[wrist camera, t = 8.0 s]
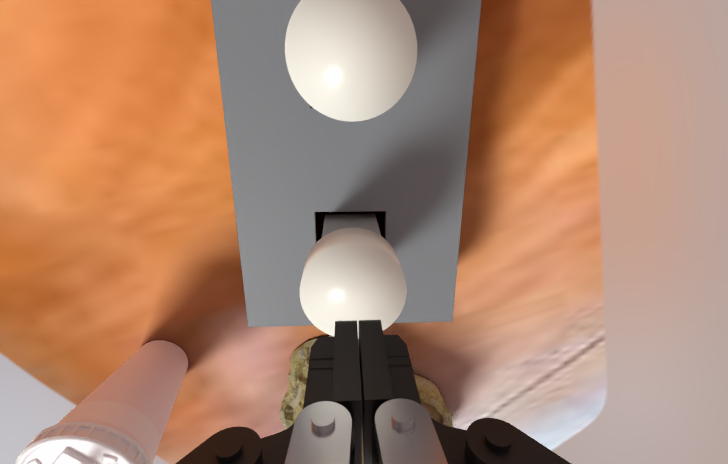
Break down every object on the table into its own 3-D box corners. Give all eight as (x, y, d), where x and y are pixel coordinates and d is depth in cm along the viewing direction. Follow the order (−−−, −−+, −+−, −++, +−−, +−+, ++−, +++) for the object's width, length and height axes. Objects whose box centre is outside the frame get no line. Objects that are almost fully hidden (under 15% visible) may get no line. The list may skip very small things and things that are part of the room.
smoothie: (199, 321, 28) (69, 527, 14) (213, 393, 30) (110, 628, 17) (108, 326, 27) (-110, 539, 14) (128, 398, 30) (-44, 641, 16)
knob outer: (310, 200, 21) (296, 244, 15) (389, 199, 21) (408, 242, 15) (313, 272, 23) (302, 340, 16) (387, 271, 23) (404, 338, 17)
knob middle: (301, 16, 18) (280, -26, 12) (393, 17, 18) (420, -23, 12) (306, 113, 20) (289, 121, 13) (391, 113, 20) (414, 121, 14)
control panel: (213, -258, 18) (166, -386, 13) (470, -246, 18) (514, -364, 14) (264, 286, 27) (248, 327, 22) (433, 283, 28) (452, 321, 23)
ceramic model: (256, 423, 31) (219, 564, 22) (311, 313, 28) (296, 422, 19) (408, 471, 34) (433, 615, 24) (473, 375, 31) (531, 499, 21)
